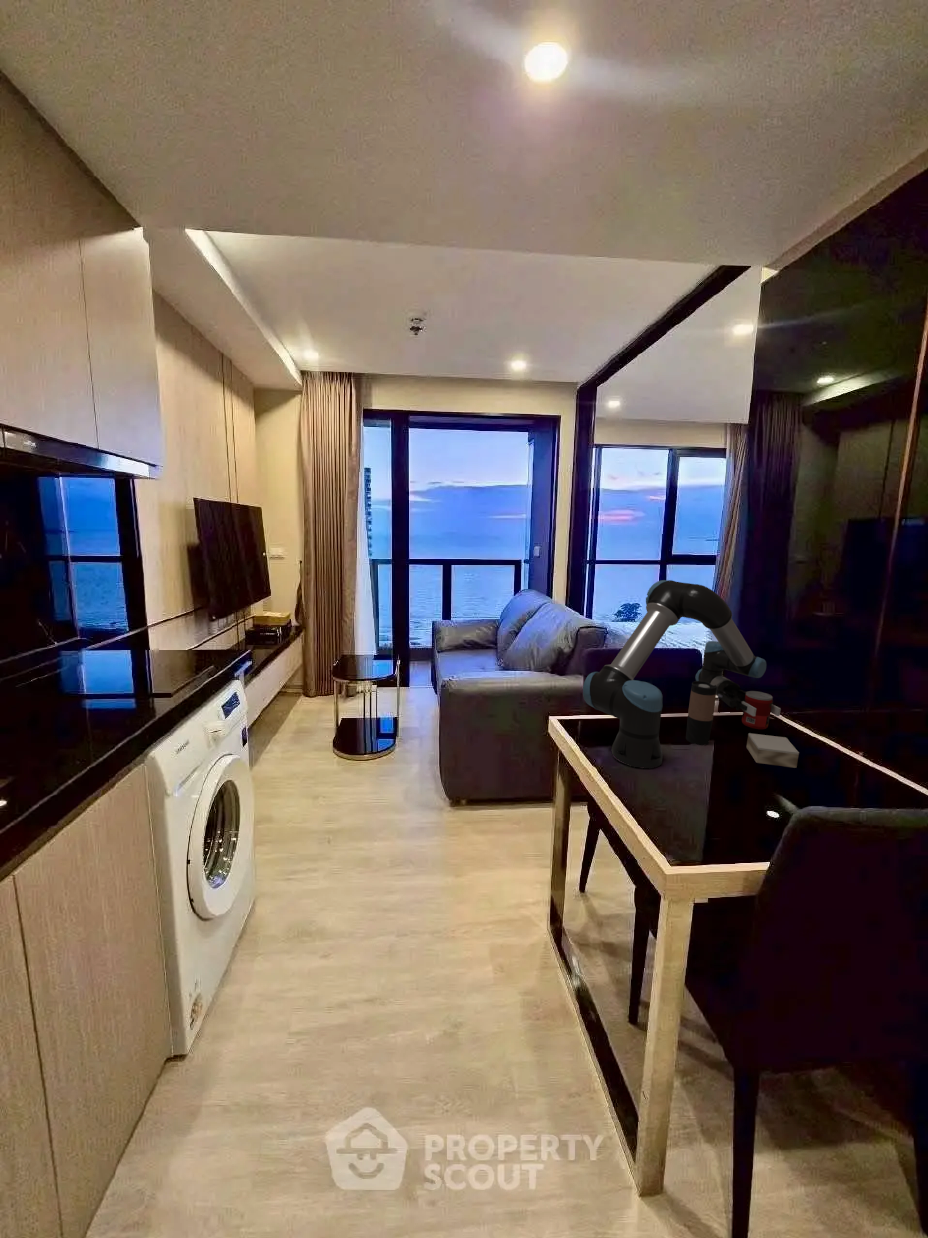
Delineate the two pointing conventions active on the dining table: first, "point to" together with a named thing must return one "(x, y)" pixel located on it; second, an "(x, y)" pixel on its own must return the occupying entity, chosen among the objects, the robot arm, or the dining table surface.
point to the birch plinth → (772, 750)
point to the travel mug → (700, 712)
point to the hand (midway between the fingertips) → (766, 712)
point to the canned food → (758, 709)
